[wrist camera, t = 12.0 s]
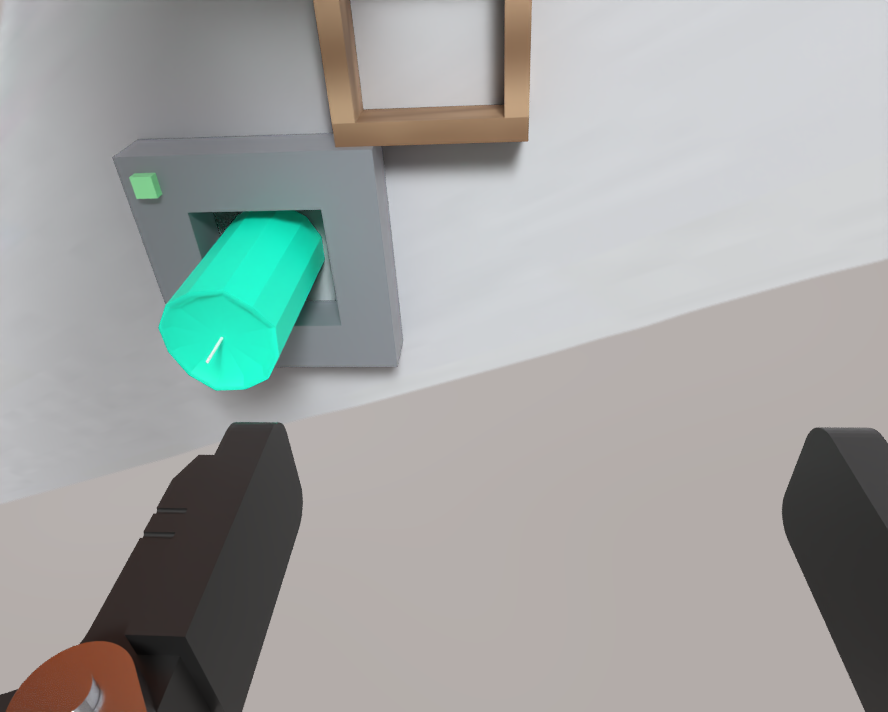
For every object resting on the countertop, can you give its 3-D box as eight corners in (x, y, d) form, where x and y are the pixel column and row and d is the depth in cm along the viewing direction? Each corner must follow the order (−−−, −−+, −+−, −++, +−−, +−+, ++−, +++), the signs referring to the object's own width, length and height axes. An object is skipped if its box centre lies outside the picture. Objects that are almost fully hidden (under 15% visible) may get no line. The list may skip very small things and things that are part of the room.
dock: (137, 139, 36) (106, 161, 33) (380, 131, 35) (369, 153, 32) (204, 341, 44) (184, 372, 42) (403, 340, 43) (396, 372, 40)
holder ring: (313, -87, 29) (300, -86, 27) (531, -101, 29) (534, -100, 26) (344, 132, 35) (335, 147, 33) (526, 126, 34) (528, 141, 32)
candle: (318, 298, 42) (265, 421, 32) (227, 276, 41) (145, 394, 32) (331, 216, 38) (275, 326, 29) (231, 191, 38) (140, 293, 28)
